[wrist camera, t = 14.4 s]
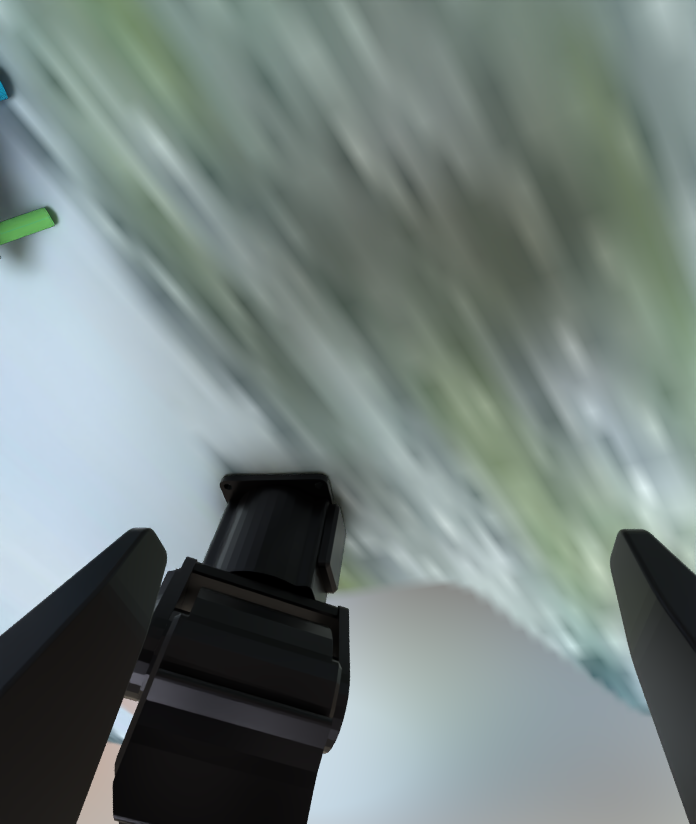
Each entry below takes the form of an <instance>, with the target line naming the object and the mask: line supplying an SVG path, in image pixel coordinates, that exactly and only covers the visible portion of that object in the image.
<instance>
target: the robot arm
mask: <svg viewBox="0 0 696 824" xmlns="http://www.w3.org/2000/svg"><path fill="white" fill-rule="evenodd" d="M318 482H320V483H318ZM321 483H322V484H321ZM229 484H230V485H229ZM220 488H221V490H222V492H223V495H224V497H225V499H226V502H227V506H226V509H225V511H224V514H223V516H222V518H221V521H220V523H219V525H218V528H217V530H216V532H215V535H214V537H213V540H212V542H211V544H210V547H209V549H208V551H207V554H206V556H205V558H204V561H203V563H200V562H197V559H194V558H191V557H186V559H185V561H184V563H183V565H182V567H181V568H179V569H176V570H173V571H168V572H167V574H166V576H165V578H164V581H163V583H162V585H161V582H162V578H163V574H164V571H165V567H166V563H167V553H166V550H165V548H164V547H163V545H162V543H161V542H160V540H159V538H158V537H157V535H156V533H155V532H154V531H153V530H152V529H151V528H132V529H130V530H128V531H127V532H126V533H124V534H123V535H122V536H121V537H120V538H118V539H117V540H116V541H115V542H113V543H112V544H111V545H110V546H109V547H107V548H106V549H105V550H104V551H103V552H101V553H100V554H99V555H98V556H97V557H95V558H94V559H93V560H92V561H90V562H89V563H88V564H87V565H86V566H84V567H83V568H82V569H81V570H80V571H78V572H77V573H76V574H75V575H73V576H72V577H71V578H70V579H69V580H67V581H66V582H65V583H64V584H63V585H61V586H60V587H59V588H58V589H57V590H55V591H54V592H53V593H52V594H50V595H49V596H48V597H47V598H46V599H44V600H43V601H42V602H41V603H40V604H38V605H37V606H36V607H35V608H33V609H32V610H31V611H30V612H29V613H27V614H26V615H25V616H24V617H23V618H21V619H20V620H19V621H18V622H17V623H15V624H14V625H13V626H12V627H10V628H9V629H8V630H7V631H6V632H4V633H3V634H2V635H1V636H0V824H76V822H77V820H78V818H79V815H80V812H81V810H82V807H83V804H84V801H85V799H86V796H87V794H88V791H89V788H90V786H91V783H92V780H93V778H94V775H95V772H96V769H97V767H98V764H99V762H100V759H101V756H102V753H103V751H104V748H105V746H106V743H107V740H108V738H109V735H110V732H111V730H112V727H113V724H114V722H115V719H116V716H117V714H118V711H119V708H120V706H121V703H122V700H123V698H126V699H130V700H134V701H139V703H138V706H137V708H136V711H135V713H134V716H133V718H132V720H131V723H130V725H129V728H128V730H127V733H126V735H125V738H124V740H123V743H122V745H121V748H120V750H119V753H118V755H117V758H116V762H115V778H114V781H113V816H114V820H115V821H119V824H307V820H308V815H309V810H310V805H311V800H312V795H313V790H314V786H315V781H316V776H317V772H318V769H319V765H320V761H321V758H322V754H323V753H324V754H325V753H328V752H329V751H330V750H331V748H332V747H333V745H334V743H335V741H336V739H337V736H338V734H339V732H340V728H341V725H342V722H343V719H344V715H345V711H346V706H347V701H348V695H349V686H350V653H349V609H348V608H345V607H341V606H338V607H336V606H332V605H330V604H327V603H326V597H327V593H334V592H335V591H336V590H337V589H338V584H339V577H340V571H341V564H342V558H343V551H344V545H345V538H346V530H345V526H344V522H343V517H342V513H341V509H340V507H339V506H338V505H337V504H335V503H334V499H333V495H332V491H331V486H330V482H329V479H328V478H327V477H326V476H325V475H322V474H299V475H249V476H225V477H223V479H222V481H221V483H220ZM610 567H611V573H612V577H613V582H614V586H615V590H616V595H617V599H618V603H619V608H620V612H621V616H622V621H623V625H624V629H625V634H626V638H627V642H628V646H629V650H630V654H631V658H632V661H633V664H634V667H635V670H636V673H637V676H638V679H639V682H640V684H641V687H642V690H643V693H644V696H645V699H646V701H647V704H648V707H649V710H650V713H651V716H652V718H653V721H654V724H655V726H656V730H657V733H658V735H659V738H660V741H661V744H662V747H663V750H664V752H665V755H666V758H667V761H668V763H669V766H670V769H671V772H672V775H673V778H674V781H675V784H676V786H677V789H678V792H679V795H680V798H681V800H682V803H683V806H684V809H685V812H686V815H687V818H688V820H689V823H690V824H696V575H695V574H694V573H693V572H692V571H691V570H690V569H689V568H688V567H687V566H686V565H684V564H683V563H682V562H681V561H680V560H679V559H678V558H677V557H676V556H675V555H674V554H673V553H671V552H670V551H669V550H668V549H667V548H666V547H665V546H664V545H663V544H662V543H661V542H660V541H658V540H657V539H656V538H655V537H654V536H653V535H652V534H651V533H650V532H648V531H646V530H643V529H622V530H620V531H619V532H618V534H617V537H616V540H615V544H614V547H613V550H612V554H611V558H610ZM160 586H161V587H160Z"/></svg>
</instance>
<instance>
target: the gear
mask: <svg viewBox="0 0 696 824" xmlns="http://www.w3.org/2000/svg"><path fill="white" fill-rule="evenodd" d="M5 99H8V96H7V94H6V91H5V89H4V87H3V85H2V83H1V82H0V101H1V100H5ZM52 226H55V225H54V223H53V221H52V219H51V217H50V215H49V214H48V212H47V211H46V209H45V208H41V209H38V210H35V211H32V212H29V213H26V214H23V215H20V216H17V217H14V218H11V219H8V220H5V221H2V222H0V245H2V244H5V243H7V242H10V241H13V240H16V239H19V238H22V237H24V236H27V235H30V234H33V233H36V232H38V231H41V230H44V229H47V228H50V227H52ZM0 259H1V256H0Z"/></svg>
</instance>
